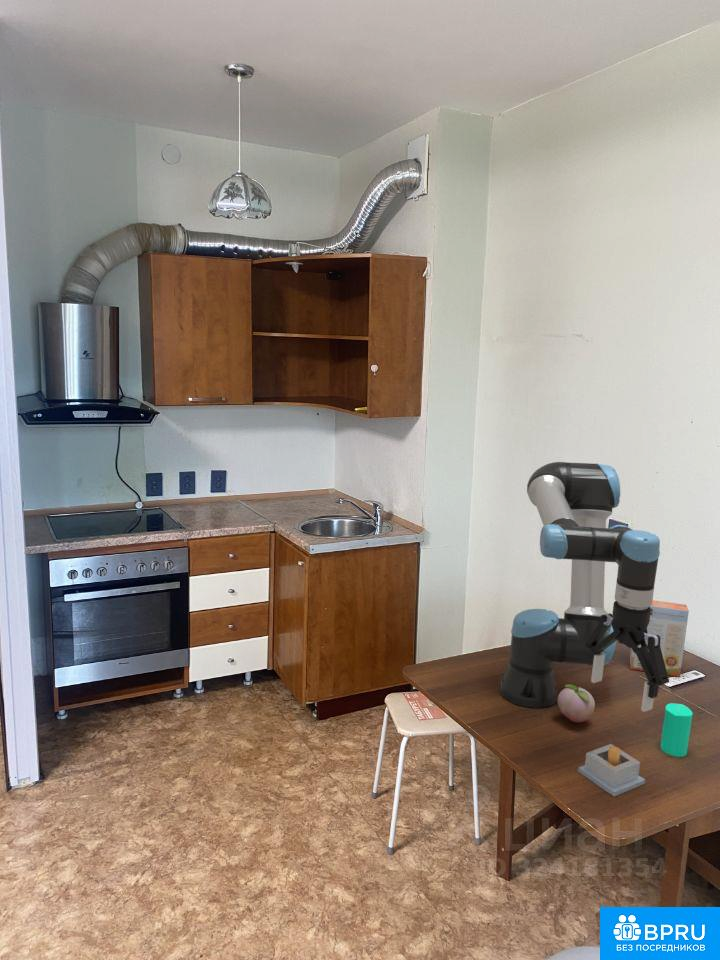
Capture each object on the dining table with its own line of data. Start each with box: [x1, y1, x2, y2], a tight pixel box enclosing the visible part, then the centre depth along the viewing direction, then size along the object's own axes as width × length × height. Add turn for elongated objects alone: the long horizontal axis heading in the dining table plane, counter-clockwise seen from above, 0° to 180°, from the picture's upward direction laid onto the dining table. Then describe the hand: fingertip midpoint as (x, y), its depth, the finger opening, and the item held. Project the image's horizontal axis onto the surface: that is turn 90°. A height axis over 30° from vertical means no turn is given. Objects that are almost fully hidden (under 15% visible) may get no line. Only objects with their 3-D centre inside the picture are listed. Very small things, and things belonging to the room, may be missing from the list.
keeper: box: [577, 745, 646, 797], centre depth 158 cm, size 10×10×7 cm
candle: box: [660, 702, 694, 758], centre depth 170 cm, size 6×6×12 cm
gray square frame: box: [584, 743, 641, 789], centre depth 158 cm, size 8×8×4 cm
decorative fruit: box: [556, 684, 596, 723], centre depth 181 cm, size 9×8×10 cm
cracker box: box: [629, 600, 690, 677], centre depth 212 cm, size 14×6×21 cm, turn 72°
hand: (620, 695), depth 156 cm, fingers open, 13 cm apart
